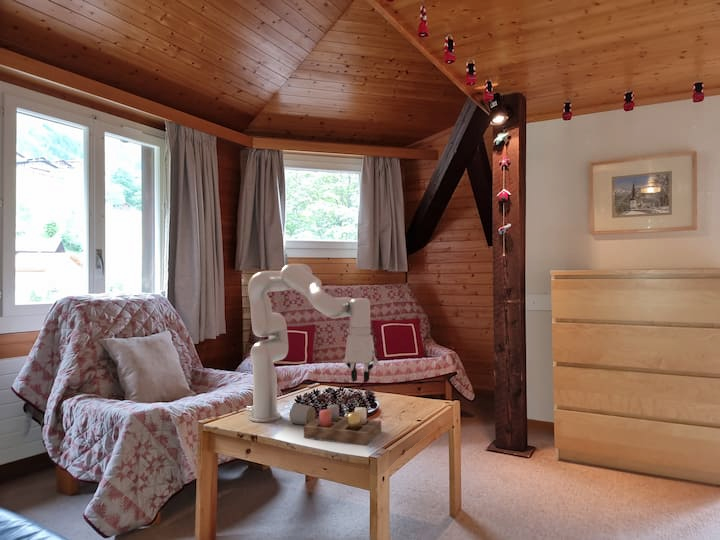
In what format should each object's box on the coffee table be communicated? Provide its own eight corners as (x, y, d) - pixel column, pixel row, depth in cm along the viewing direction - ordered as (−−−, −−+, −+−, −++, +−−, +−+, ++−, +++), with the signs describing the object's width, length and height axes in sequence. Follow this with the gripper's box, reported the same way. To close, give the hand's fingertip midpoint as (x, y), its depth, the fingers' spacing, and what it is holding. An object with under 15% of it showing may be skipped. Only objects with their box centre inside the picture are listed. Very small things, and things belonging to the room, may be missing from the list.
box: (303, 437, 184) (303, 426, 184) (322, 425, 199) (322, 414, 199) (366, 445, 176) (366, 433, 176) (381, 431, 191) (381, 420, 191)
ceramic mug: (307, 427, 196) (308, 407, 196) (289, 425, 199) (289, 405, 199) (320, 420, 206) (320, 401, 206) (302, 418, 209) (302, 399, 209)
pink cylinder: (317, 426, 185) (317, 412, 185) (322, 423, 189) (322, 408, 189) (328, 427, 184) (328, 413, 184) (333, 424, 188) (333, 410, 188)
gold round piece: (345, 429, 181) (345, 414, 181) (350, 426, 185) (350, 411, 185) (357, 430, 180) (357, 416, 180) (361, 427, 184) (361, 412, 184)
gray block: (325, 421, 192) (325, 407, 192) (330, 417, 196) (330, 404, 196) (336, 422, 190) (336, 408, 190) (340, 419, 194) (340, 405, 194)
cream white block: (352, 424, 188) (352, 409, 188) (357, 420, 192) (357, 406, 192) (364, 425, 186) (364, 410, 186) (368, 421, 190) (368, 407, 190)
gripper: (335, 332, 189) (335, 382, 189) (378, 333, 183) (378, 385, 183) (343, 329, 196) (343, 377, 196) (384, 331, 190) (385, 380, 190)
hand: (360, 380), depth 189 cm, fingers open, 3 cm apart
